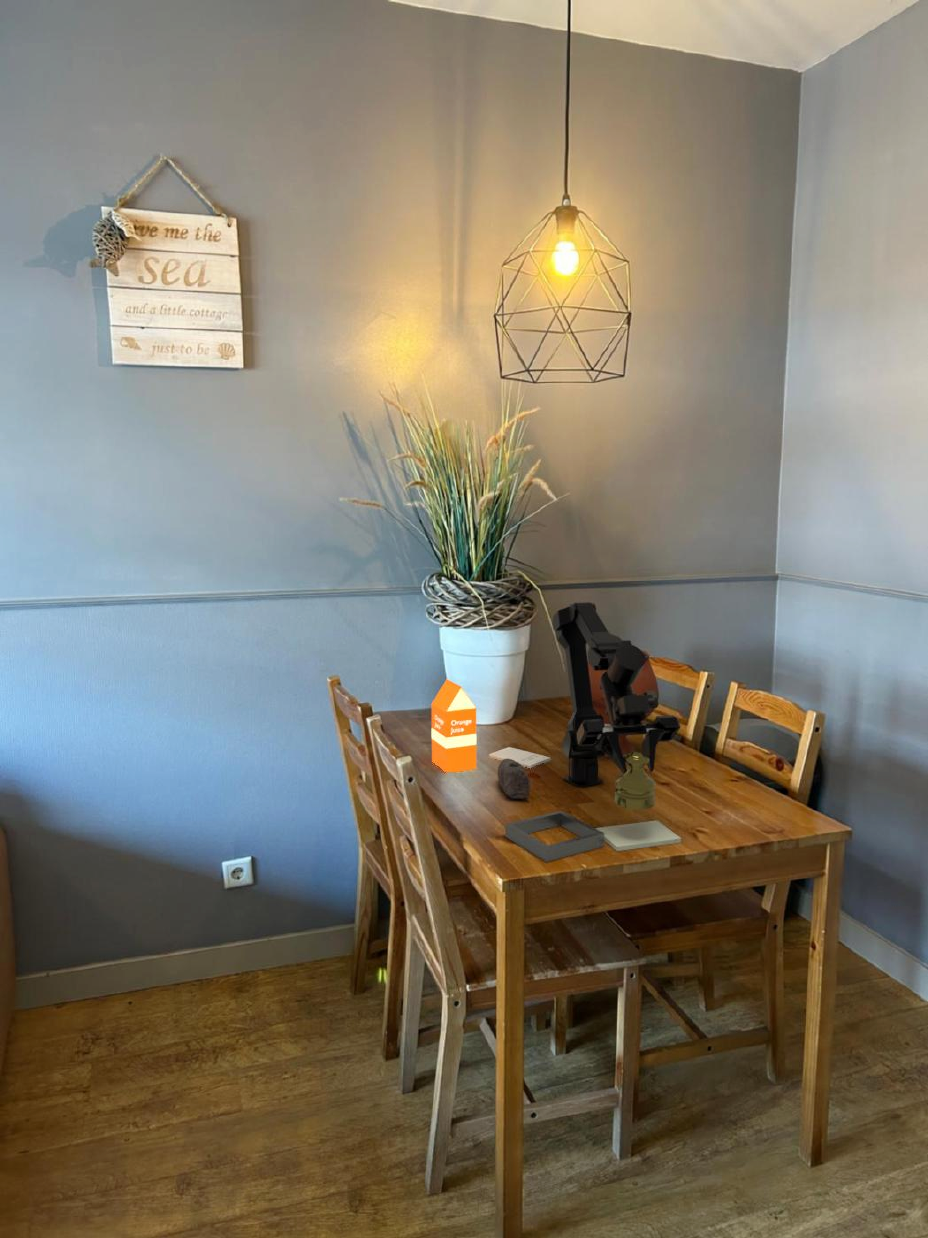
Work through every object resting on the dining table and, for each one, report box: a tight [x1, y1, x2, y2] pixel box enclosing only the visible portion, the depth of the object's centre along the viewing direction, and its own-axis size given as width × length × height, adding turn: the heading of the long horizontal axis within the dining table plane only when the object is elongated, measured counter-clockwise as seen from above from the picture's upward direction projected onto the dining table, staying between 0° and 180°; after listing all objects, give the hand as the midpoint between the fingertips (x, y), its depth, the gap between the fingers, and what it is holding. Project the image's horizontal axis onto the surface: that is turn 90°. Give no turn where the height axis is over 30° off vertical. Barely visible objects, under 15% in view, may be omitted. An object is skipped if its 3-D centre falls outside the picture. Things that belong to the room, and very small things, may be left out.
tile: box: [594, 820, 682, 852], centre depth 165 cm, size 13×9×1 cm
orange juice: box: [430, 678, 477, 774], centre depth 204 cm, size 8×9×20 cm
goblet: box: [588, 650, 660, 758], centre depth 213 cm, size 19×19×25 cm
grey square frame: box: [504, 810, 605, 863], centre depth 163 cm, size 13×13×2 cm
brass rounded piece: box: [614, 750, 657, 811], centre depth 163 cm, size 7×7×10 cm
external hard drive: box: [488, 746, 552, 770], centre depth 211 cm, size 2×8×12 cm
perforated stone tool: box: [497, 759, 531, 800], centre depth 188 cm, size 15×5×7 cm, turn 10°
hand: (638, 771), depth 161 cm, fingers closed on brass rounded piece, 5 cm apart
